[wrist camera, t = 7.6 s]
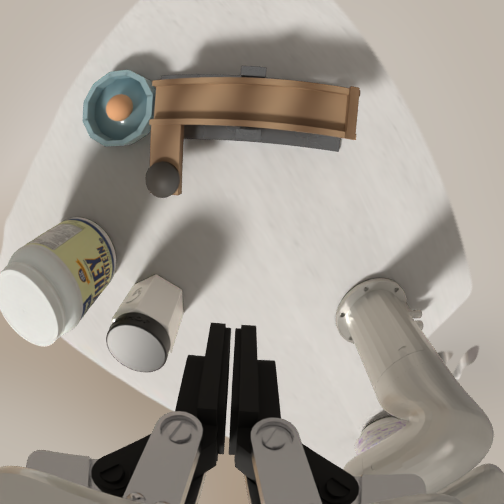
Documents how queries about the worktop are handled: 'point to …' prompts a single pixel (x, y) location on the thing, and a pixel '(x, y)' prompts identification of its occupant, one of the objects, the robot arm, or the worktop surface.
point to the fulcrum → (251, 132)
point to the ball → (119, 107)
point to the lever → (240, 115)
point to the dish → (132, 126)
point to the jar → (146, 325)
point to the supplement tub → (56, 280)
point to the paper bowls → (378, 433)
